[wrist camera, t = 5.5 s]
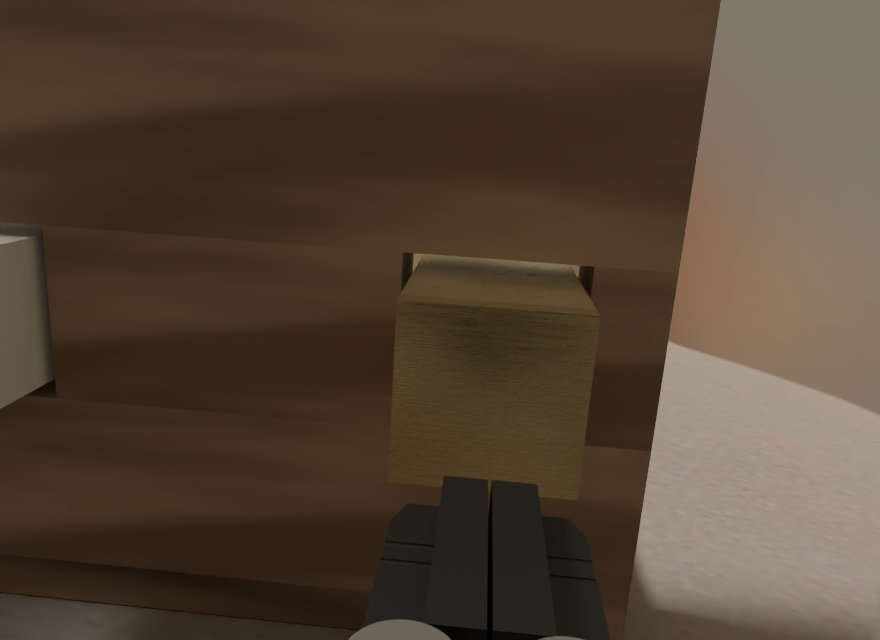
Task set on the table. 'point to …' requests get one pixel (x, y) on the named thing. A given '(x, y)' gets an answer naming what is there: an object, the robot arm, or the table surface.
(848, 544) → the table surface
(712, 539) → the table surface
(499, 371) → the yellow rectangular block
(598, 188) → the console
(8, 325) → the key white
